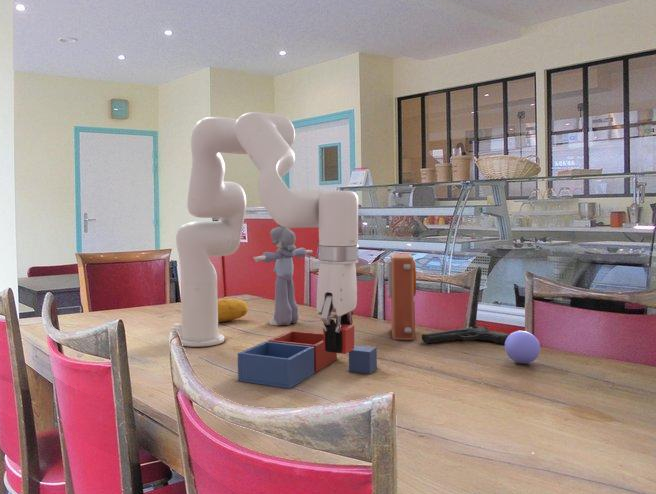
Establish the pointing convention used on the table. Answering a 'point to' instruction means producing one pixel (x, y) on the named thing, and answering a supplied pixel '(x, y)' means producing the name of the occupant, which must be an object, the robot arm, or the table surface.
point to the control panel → (402, 295)
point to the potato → (231, 309)
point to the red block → (344, 338)
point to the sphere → (522, 347)
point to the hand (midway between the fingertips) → (338, 347)
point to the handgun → (466, 335)
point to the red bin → (311, 340)
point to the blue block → (363, 359)
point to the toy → (284, 274)
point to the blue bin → (276, 364)
